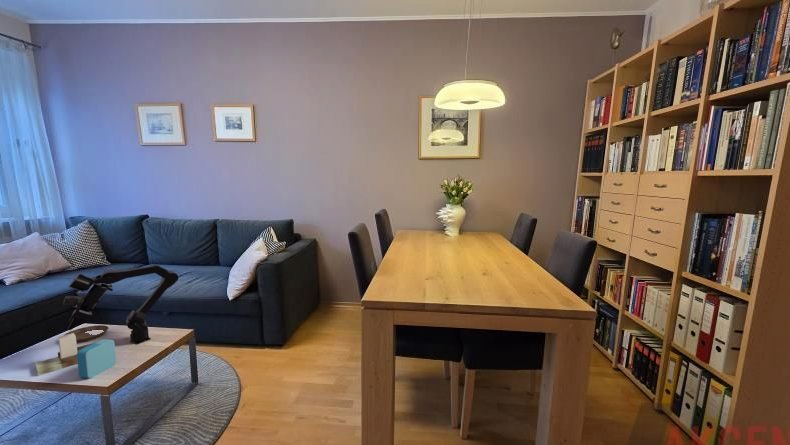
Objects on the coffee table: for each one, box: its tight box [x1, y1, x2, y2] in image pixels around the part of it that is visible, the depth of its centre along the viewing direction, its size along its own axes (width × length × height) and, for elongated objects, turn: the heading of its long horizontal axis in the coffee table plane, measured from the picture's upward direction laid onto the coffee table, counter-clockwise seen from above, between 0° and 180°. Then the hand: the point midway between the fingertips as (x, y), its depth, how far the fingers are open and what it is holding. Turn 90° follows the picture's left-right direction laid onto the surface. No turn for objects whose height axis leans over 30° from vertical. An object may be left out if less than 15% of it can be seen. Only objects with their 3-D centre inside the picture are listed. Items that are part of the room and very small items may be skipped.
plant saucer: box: [62, 324, 109, 344], centre depth 169 cm, size 18×18×3 cm
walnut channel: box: [34, 341, 97, 377], centre depth 147 cm, size 23×10×4 cm, turn 142°
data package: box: [77, 338, 117, 379], centre depth 138 cm, size 12×4×12 cm, turn 173°
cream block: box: [57, 333, 78, 359], centre depth 145 cm, size 5×5×10 cm
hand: (69, 326), depth 147 cm, fingers open, 9 cm apart
